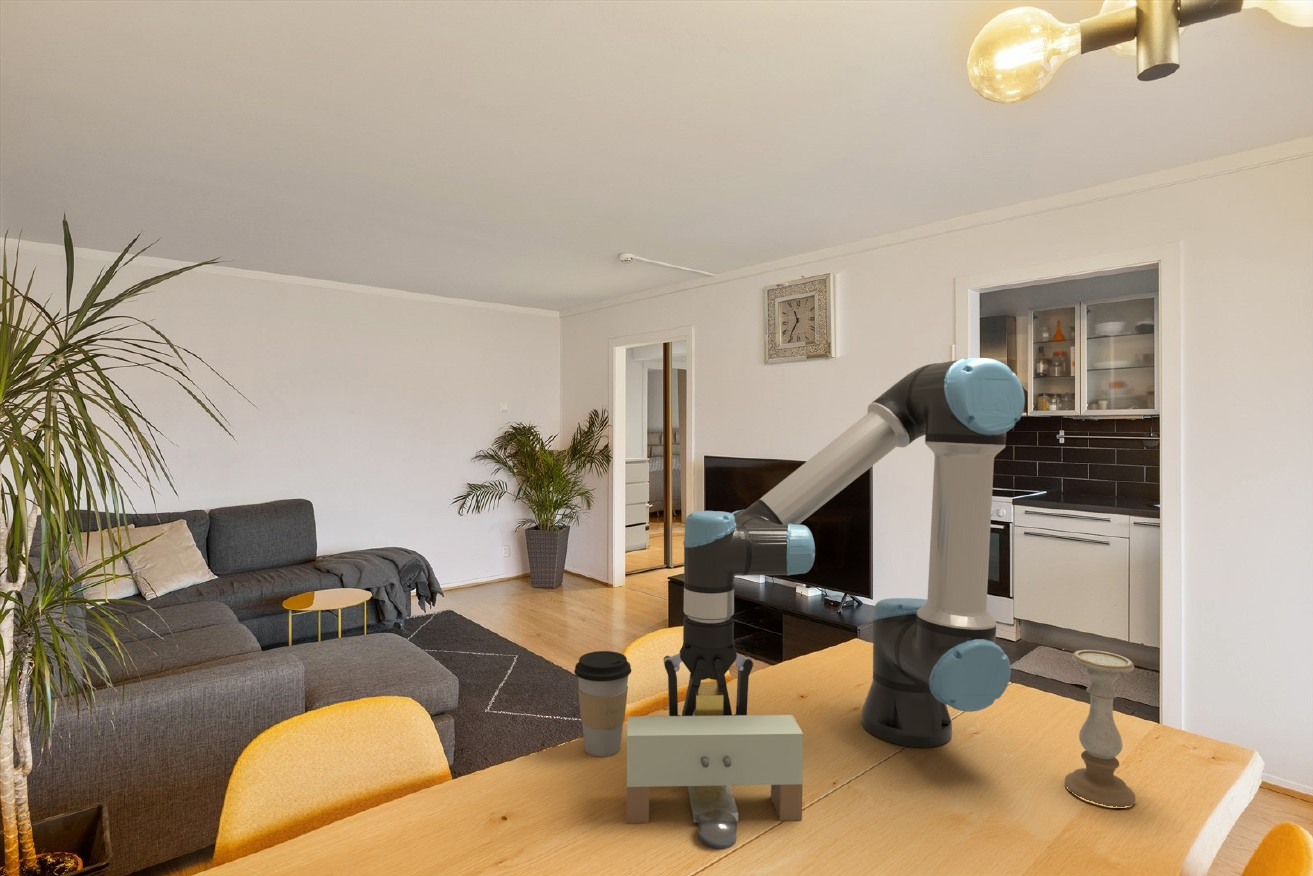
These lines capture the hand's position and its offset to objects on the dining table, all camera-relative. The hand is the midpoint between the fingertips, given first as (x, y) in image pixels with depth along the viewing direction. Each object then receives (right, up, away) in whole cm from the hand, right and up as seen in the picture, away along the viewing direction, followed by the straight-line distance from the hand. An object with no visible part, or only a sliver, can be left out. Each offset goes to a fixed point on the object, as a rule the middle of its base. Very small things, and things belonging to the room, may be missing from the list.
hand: (706, 770), depth 103 cm
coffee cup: (-17, -2, +11) cm, 20 cm away
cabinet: (0, -2, -6) cm, 7 cm away
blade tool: (0, -2, -4) cm, 4 cm away
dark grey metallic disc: (0, -3, -13) cm, 13 cm away
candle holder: (+58, -3, -1) cm, 58 cm away
